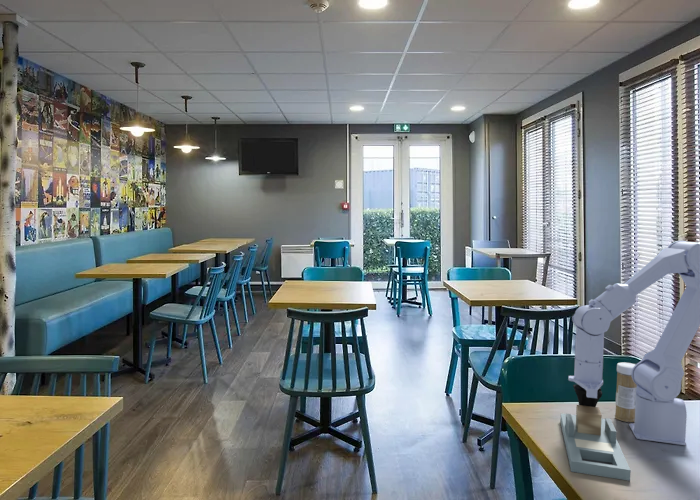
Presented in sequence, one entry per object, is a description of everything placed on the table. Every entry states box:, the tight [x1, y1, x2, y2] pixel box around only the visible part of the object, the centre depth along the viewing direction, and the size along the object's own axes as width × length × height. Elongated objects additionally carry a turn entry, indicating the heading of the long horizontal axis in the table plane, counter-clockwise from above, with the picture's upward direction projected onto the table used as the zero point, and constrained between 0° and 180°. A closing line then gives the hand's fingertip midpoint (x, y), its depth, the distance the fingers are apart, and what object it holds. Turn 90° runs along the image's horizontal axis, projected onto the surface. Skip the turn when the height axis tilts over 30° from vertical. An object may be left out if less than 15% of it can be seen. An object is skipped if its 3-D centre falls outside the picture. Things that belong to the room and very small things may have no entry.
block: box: [575, 404, 603, 436], centre depth 110 cm, size 4×4×4 cm
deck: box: [560, 412, 631, 481], centre depth 105 cm, size 10×25×4 cm, turn 162°
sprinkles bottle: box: [614, 361, 637, 423], centre depth 121 cm, size 5×5×13 cm
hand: (586, 418), depth 113 cm, fingers closed
